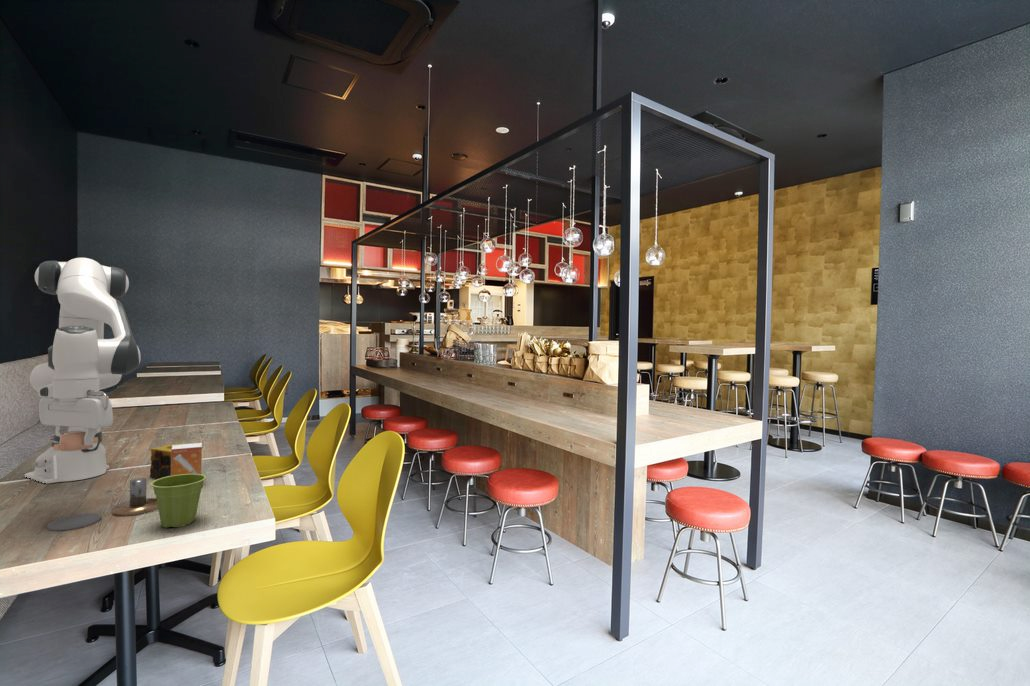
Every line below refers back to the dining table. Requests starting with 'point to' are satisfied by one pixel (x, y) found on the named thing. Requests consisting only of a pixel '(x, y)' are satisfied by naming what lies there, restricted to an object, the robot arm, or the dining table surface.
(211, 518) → the dining table surface
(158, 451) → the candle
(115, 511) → the brown wide round part
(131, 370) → the robot arm
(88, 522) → the pad
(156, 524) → the dining table surface
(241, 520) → the dining table surface
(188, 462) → the small box
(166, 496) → the plant pot
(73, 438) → the cap
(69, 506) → the dining table surface
